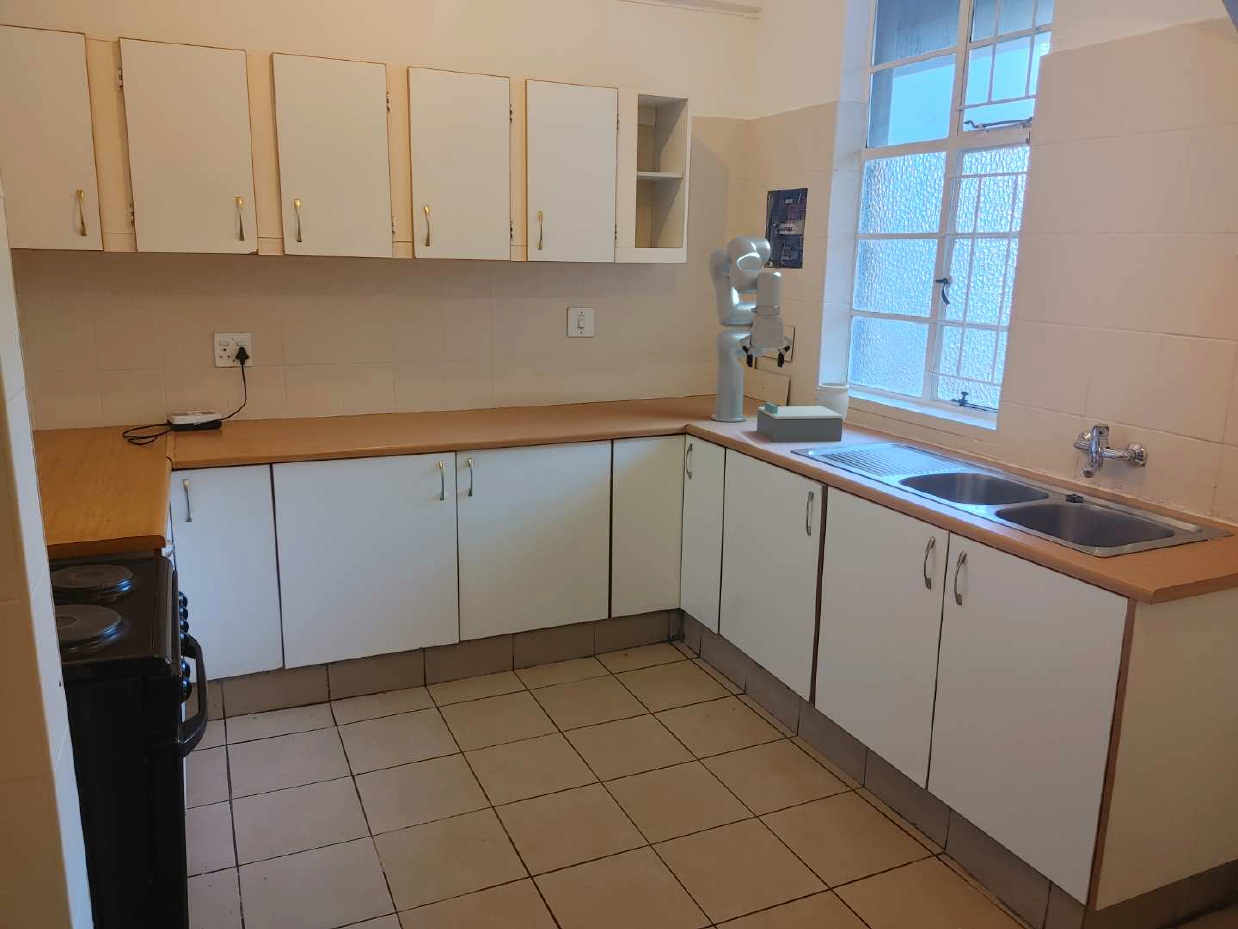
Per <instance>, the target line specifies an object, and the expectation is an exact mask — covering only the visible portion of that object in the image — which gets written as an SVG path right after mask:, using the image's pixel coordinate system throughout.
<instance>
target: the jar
mask: <svg viewBox="0 0 1238 929" xmlns="http://www.w3.org/2000/svg"><path fill="white" fill-rule="evenodd" d="M818 388H819V391H818V394H817V405H816V406H823V407H825V408H827V409H830V410H832V411H834V412H836V413H838V414H841V415H843V418H842V419H843V423H844V422H845V420H846V417H847V413H848V409H849V404H850V403H849V402H850V400H849V397H850V396H849V389H850V385H849V384H846V383H840V382H822V383H821V382H820V383H819V384H818ZM843 427H844V425H843V424H842V428H843Z"/></svg>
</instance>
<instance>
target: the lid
mask: <svg viewBox="0 0 1238 929" xmlns="http://www.w3.org/2000/svg"><path fill="white" fill-rule="evenodd" d="M758 410H760V411H762V412H764V413H765V414H767V415H769V416H771V417H773V418H774V419H818V418H843V415H841V414H838V413H836V412H834V411H832V410H830V409H827V408H825V407H823V406H817V405H807V406H806V405H804V406H803V405H802V406H801V405H799V406H798V405H797V406H796V405H794V406H792V405H791V406H789V405H788V406H787V405H783V406H781V405H780V406H778V405H777V404H775V403H772V402H771V401H764V406H757V411H758Z"/></svg>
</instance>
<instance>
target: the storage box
mask: <svg viewBox="0 0 1238 929" xmlns="http://www.w3.org/2000/svg"><path fill="white" fill-rule="evenodd" d="M756 417H757V418H756V419H757V420H756V432H757V433H759V434H761V436H764V437H765V438H766V439H768V440H770V441H771V442H773V443H813V442H815V443H816V442H842V436H843V427H842V425H843V423H844V422H843V419H842V418H818V419H774V418H773V417H771V416H769V415H767V414H765V413H764V412H762V411H760V410H758V409H757V416H756Z"/></svg>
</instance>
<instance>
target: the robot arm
mask: <svg viewBox="0 0 1238 929" xmlns="http://www.w3.org/2000/svg"><path fill="white" fill-rule="evenodd" d="M726 245H727V246H726V248H719V249H716V250H714V251H712V252H711V254H710V256H709V259H708V260H709V261H708V269H709V276H710V278H711V281H712V284H713V287H714V289H715V300H716V308H717V309H716V311H717V320H718V323H719V325H720V326H721V327H723V328H729V330H728V329H727V330H722V331H721V332H719V333H718V334H717V335H716V338H715V348H716V349H715V350H716V357H717V358H716V363H717V368H716V369H717V370H716V392H715V393H716V394H715V396H716V397H715V413H712V414H711V416H710V419H711V418H712V420H713V419H714V420H713V421H717V422H723V423H724V422H725V423H726V422H727V423H738V422H739V423H740V422H745V421H746V420H747V415H746V414H743V405H744V384H745V369H744V366H743V365H742V363H741V362H740V361H739V358H746V362H745V363H746V364H745V365H747V367H748V368H753V366H754V365H753V363H754V362H753V361H754V358H759V357H762V356H763V355H764V354H765V351H766V350H777V351H778V352H779V353H777V367H779V368H783V365H785V355H786V354H787V352H789V351H790V350H791V348H792V346H793V345H794V342H795V341H794V340H793V339H791V338H790V337H788V336H786V335H785V329H784V318H783V316H781V298H782V297H781V296H782V280H783V279H782V277H783V275H782V274H781V273H780V272H779V271H774V270H770V269H769V270H768V269H763V270H762V267H764V265H766V263H768V262H769V259H770V256H771V253H772V252H771V245H770V242H769V240H768V239H766V238H765V237H762V236H737V237H734V238H732V239H730V240H729V242H728V243H727V244H726ZM741 295H755V300H742V298H741ZM730 328H731V329H730ZM732 328H734V329H732ZM736 328H737V329H736ZM739 328H742V329H739ZM744 328H745V329H744ZM785 342H786V345H785V346H784V344H785Z"/></svg>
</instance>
